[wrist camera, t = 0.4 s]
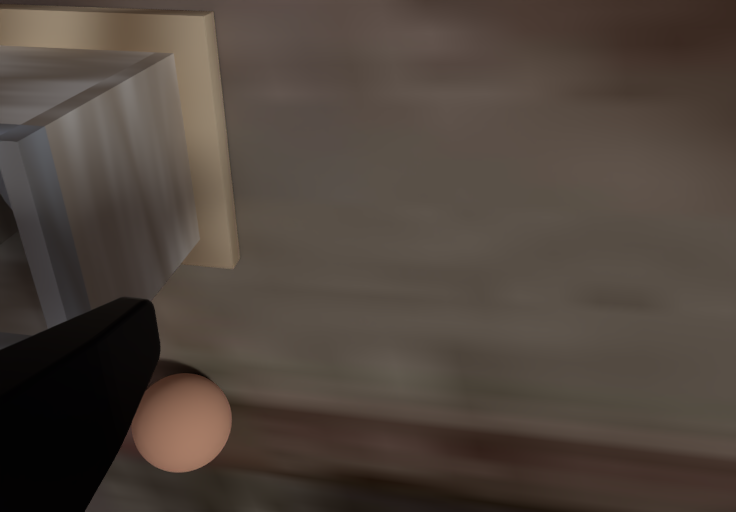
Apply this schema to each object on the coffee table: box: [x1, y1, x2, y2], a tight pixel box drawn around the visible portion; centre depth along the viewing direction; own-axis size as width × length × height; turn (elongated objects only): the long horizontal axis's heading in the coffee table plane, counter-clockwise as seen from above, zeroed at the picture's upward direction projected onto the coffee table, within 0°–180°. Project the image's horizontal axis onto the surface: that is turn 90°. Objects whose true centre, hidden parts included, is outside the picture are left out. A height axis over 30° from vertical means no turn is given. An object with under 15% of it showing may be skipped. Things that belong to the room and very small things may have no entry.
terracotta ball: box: [132, 373, 232, 472], centre depth 27 cm, size 4×4×4 cm
